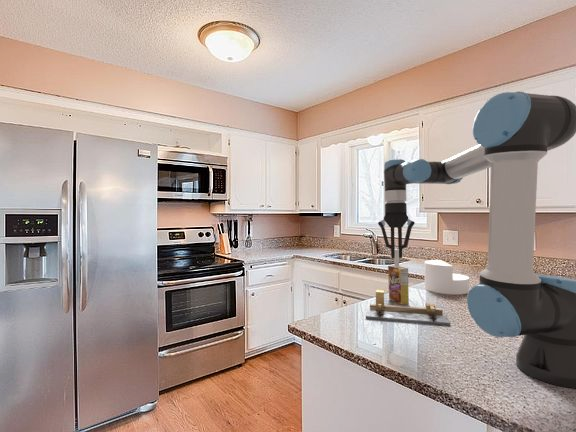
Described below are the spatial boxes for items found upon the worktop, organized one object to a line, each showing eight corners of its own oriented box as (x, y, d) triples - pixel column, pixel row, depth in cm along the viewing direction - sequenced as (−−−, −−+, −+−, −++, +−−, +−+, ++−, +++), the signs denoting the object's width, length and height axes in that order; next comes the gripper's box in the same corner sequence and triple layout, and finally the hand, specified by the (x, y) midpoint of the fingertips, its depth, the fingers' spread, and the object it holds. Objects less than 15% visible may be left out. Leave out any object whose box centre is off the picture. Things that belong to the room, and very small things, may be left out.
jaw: (383, 316, 120) (383, 296, 120) (375, 315, 121) (375, 295, 121) (384, 309, 129) (384, 290, 129) (376, 308, 130) (376, 289, 130)
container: (476, 295, 151) (475, 266, 151) (430, 293, 155) (429, 265, 154) (461, 285, 171) (461, 260, 171) (420, 284, 174) (420, 259, 174)
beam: (445, 322, 114) (445, 309, 114) (369, 316, 122) (368, 304, 122) (441, 314, 123) (441, 302, 123) (370, 309, 131) (370, 298, 131)
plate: (450, 325, 111) (450, 322, 111) (365, 318, 119) (365, 315, 119) (446, 318, 119) (446, 315, 119) (367, 312, 127) (367, 309, 127)
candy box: (387, 299, 145) (387, 265, 145) (396, 299, 146) (395, 264, 146) (400, 305, 136) (400, 268, 136) (409, 304, 137) (408, 268, 137)
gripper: (413, 202, 122) (414, 265, 121) (377, 203, 125) (378, 265, 125) (415, 201, 114) (417, 269, 114) (377, 202, 118) (378, 268, 118)
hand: (396, 266), depth 120 cm, fingers closed
